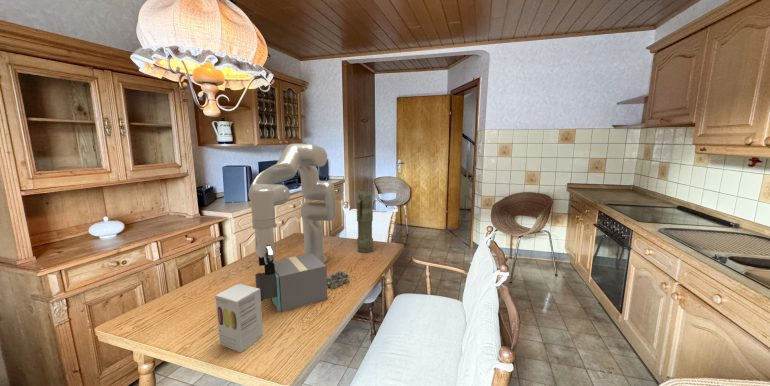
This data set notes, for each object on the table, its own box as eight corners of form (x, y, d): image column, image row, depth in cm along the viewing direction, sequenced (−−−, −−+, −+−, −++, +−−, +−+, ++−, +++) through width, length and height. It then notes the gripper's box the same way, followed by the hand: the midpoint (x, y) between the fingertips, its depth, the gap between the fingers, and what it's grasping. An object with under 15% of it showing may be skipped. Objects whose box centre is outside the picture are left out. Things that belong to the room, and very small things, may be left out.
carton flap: (251, 298, 126) (248, 261, 123) (270, 293, 130) (268, 257, 127) (259, 317, 113) (256, 276, 110) (280, 311, 117) (278, 271, 114)
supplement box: (218, 345, 98) (213, 294, 95) (242, 328, 107) (238, 282, 104) (241, 353, 95) (236, 301, 92) (264, 336, 103) (260, 287, 100)
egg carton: (332, 290, 134) (332, 281, 133) (322, 285, 139) (321, 276, 138) (351, 281, 142) (351, 273, 141) (340, 276, 147) (340, 268, 146)
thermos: (353, 252, 177) (351, 191, 171) (363, 246, 187) (362, 187, 181) (366, 255, 173) (366, 192, 167) (376, 248, 183) (376, 188, 177)
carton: (271, 294, 130) (269, 261, 128) (313, 283, 140) (312, 252, 137) (281, 312, 117) (279, 276, 114) (327, 299, 126) (326, 265, 124)
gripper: (248, 219, 115) (251, 263, 118) (257, 230, 101) (260, 280, 103) (269, 216, 119) (272, 260, 122) (281, 227, 105) (283, 275, 107)
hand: (266, 269), depth 113 cm, fingers open, 9 cm apart
